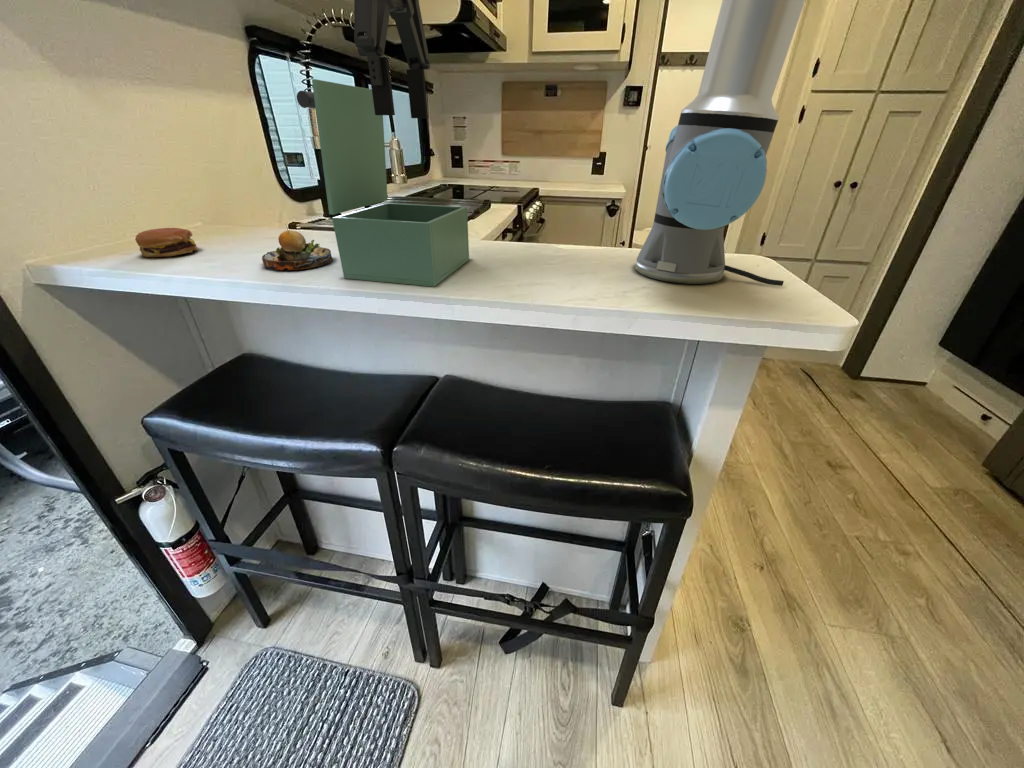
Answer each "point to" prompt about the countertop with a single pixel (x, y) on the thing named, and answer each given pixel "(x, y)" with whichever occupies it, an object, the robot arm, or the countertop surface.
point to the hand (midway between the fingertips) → (403, 116)
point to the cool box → (402, 243)
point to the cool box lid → (348, 144)
